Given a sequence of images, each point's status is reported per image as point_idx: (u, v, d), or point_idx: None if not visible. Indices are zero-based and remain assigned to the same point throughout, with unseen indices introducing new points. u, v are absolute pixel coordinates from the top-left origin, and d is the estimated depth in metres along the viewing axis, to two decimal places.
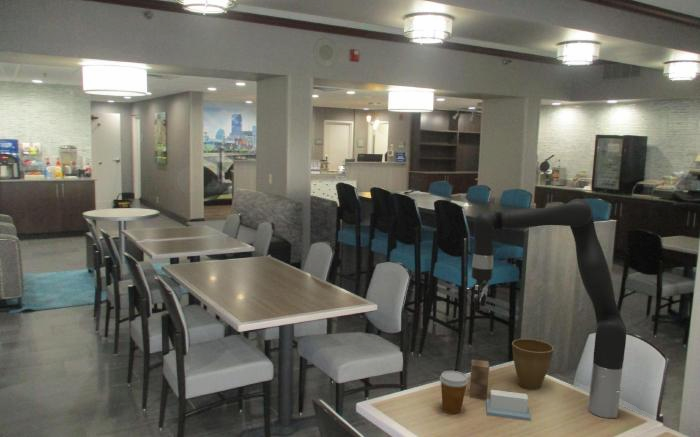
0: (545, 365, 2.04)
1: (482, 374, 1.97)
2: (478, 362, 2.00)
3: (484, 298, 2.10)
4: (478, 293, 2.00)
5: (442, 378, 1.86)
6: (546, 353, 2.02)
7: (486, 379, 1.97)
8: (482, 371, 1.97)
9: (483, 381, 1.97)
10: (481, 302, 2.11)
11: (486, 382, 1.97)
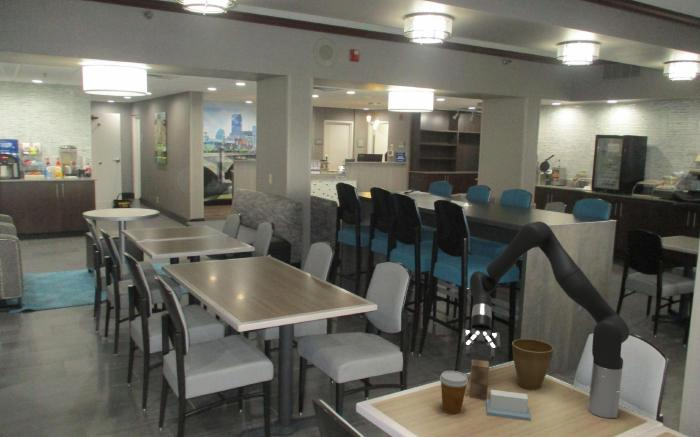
0: (545, 365, 2.04)
1: (482, 374, 1.97)
2: (478, 362, 2.00)
3: (491, 350, 2.06)
4: (462, 335, 2.11)
5: (442, 378, 1.86)
6: (546, 353, 2.02)
7: (486, 379, 1.97)
8: (482, 371, 1.97)
9: (483, 381, 1.97)
10: None
11: (486, 382, 1.97)
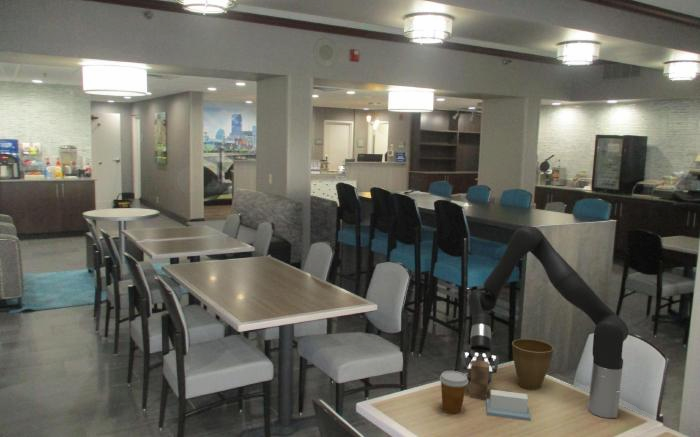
0: (545, 365, 2.04)
1: (482, 374, 1.97)
2: (478, 362, 2.00)
3: None
4: (462, 359, 2.03)
5: (442, 378, 1.86)
6: (546, 353, 2.02)
7: (486, 379, 1.97)
8: (482, 371, 1.96)
9: (483, 381, 1.97)
10: None
11: (486, 382, 1.97)
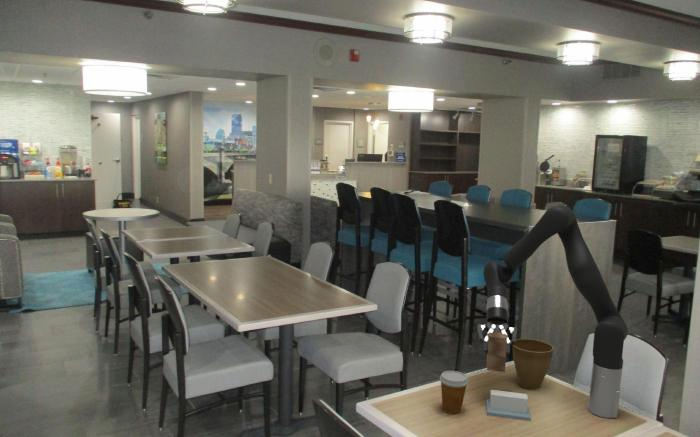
0: (545, 365, 2.04)
1: (500, 345, 1.89)
2: (495, 334, 1.93)
3: None
4: (478, 331, 1.96)
5: (442, 378, 1.86)
6: (546, 353, 2.02)
7: (504, 351, 1.89)
8: (500, 342, 1.89)
9: (501, 353, 1.90)
10: None
11: (504, 354, 1.90)
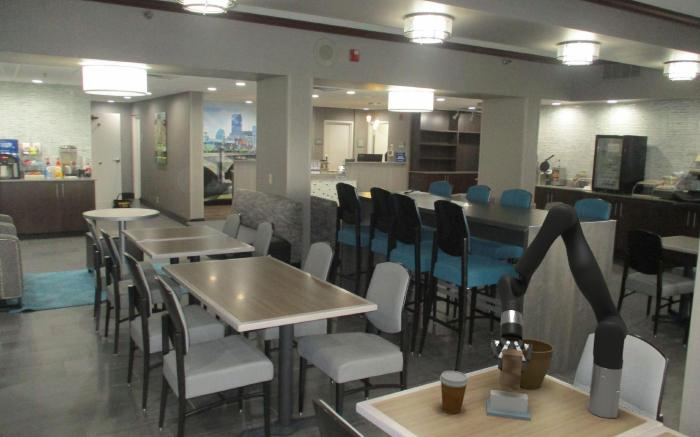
0: (545, 365, 2.04)
1: (515, 363, 1.84)
2: (510, 351, 1.87)
3: None
4: (492, 348, 1.91)
5: (442, 378, 1.86)
6: (546, 353, 2.02)
7: (519, 369, 1.84)
8: (515, 360, 1.84)
9: (516, 371, 1.84)
10: None
11: (519, 372, 1.84)
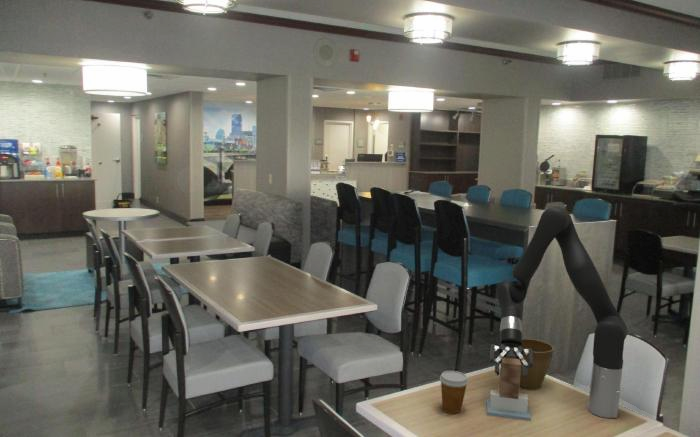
0: (545, 365, 2.04)
1: (514, 372, 1.84)
2: (509, 360, 1.88)
3: (523, 368, 1.87)
4: (490, 352, 1.92)
5: (442, 378, 1.86)
6: (546, 353, 2.02)
7: (518, 377, 1.84)
8: (514, 369, 1.84)
9: (515, 380, 1.85)
10: None
11: (518, 380, 1.84)
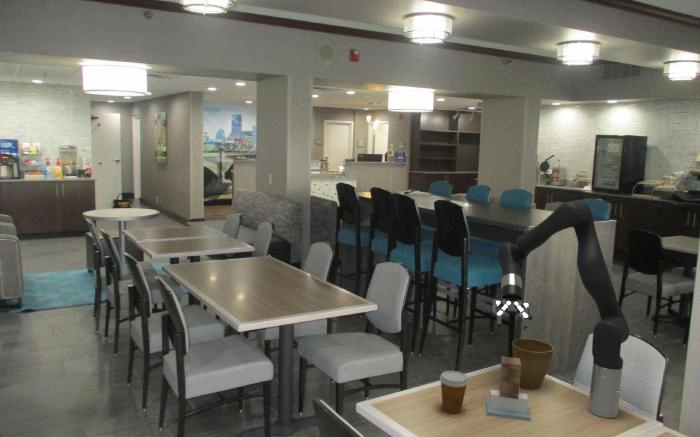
0: (545, 365, 2.04)
1: (514, 372, 1.84)
2: (509, 360, 1.88)
3: (523, 320, 1.99)
4: (492, 306, 2.04)
5: (442, 378, 1.86)
6: (546, 353, 2.02)
7: (518, 377, 1.84)
8: (514, 369, 1.84)
9: (515, 380, 1.85)
10: (523, 325, 1.99)
11: (518, 380, 1.84)
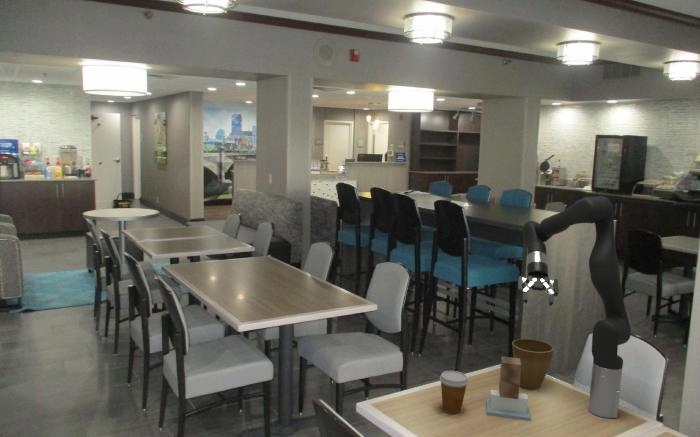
0: (545, 365, 2.04)
1: (514, 372, 1.84)
2: (509, 360, 1.88)
3: (549, 296, 2.02)
4: (518, 283, 2.07)
5: (442, 378, 1.86)
6: (546, 353, 2.02)
7: (518, 377, 1.84)
8: (514, 369, 1.84)
9: (515, 380, 1.85)
10: (549, 301, 2.02)
11: (518, 380, 1.84)
